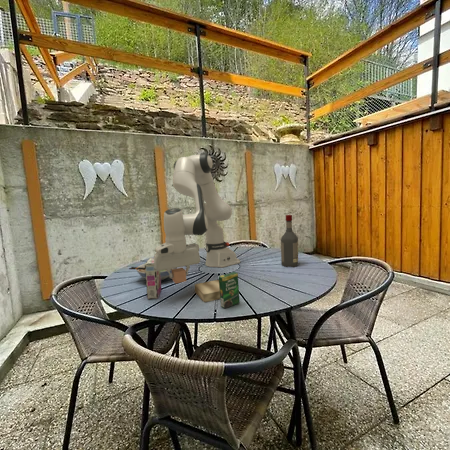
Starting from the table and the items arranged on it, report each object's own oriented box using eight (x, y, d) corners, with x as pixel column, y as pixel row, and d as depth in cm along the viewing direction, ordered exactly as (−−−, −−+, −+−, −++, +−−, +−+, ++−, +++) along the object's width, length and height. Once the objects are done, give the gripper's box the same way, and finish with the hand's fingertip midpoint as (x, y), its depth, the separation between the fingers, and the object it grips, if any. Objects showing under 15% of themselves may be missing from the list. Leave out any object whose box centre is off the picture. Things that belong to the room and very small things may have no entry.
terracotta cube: (183, 277, 121) (182, 267, 120) (186, 281, 117) (185, 270, 116) (172, 280, 119) (171, 269, 118) (175, 283, 115) (174, 272, 114)
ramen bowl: (188, 273, 154) (187, 259, 153) (169, 287, 132) (168, 271, 131) (150, 271, 161) (148, 258, 160) (126, 285, 139) (125, 270, 138)
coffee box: (223, 309, 105) (221, 277, 103) (219, 306, 107) (218, 275, 105) (240, 303, 109) (238, 273, 107) (236, 301, 111) (234, 271, 110)
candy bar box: (158, 298, 119) (155, 263, 116) (147, 299, 118) (143, 264, 116) (162, 289, 130) (159, 257, 128) (152, 290, 129) (148, 257, 127)
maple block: (218, 287, 130) (218, 279, 129) (230, 297, 117) (229, 288, 116) (194, 292, 125) (194, 284, 124) (204, 303, 112) (203, 294, 112)
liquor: (280, 266, 156) (279, 216, 152) (283, 262, 165) (282, 214, 161) (296, 267, 153) (295, 216, 149) (298, 263, 161) (297, 214, 157)
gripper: (196, 241, 123) (198, 270, 125) (151, 248, 114) (154, 279, 116) (201, 243, 117) (203, 273, 119) (154, 251, 109) (157, 283, 111)
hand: (179, 276), depth 118 cm, fingers closed on terracotta cube, 5 cm apart
